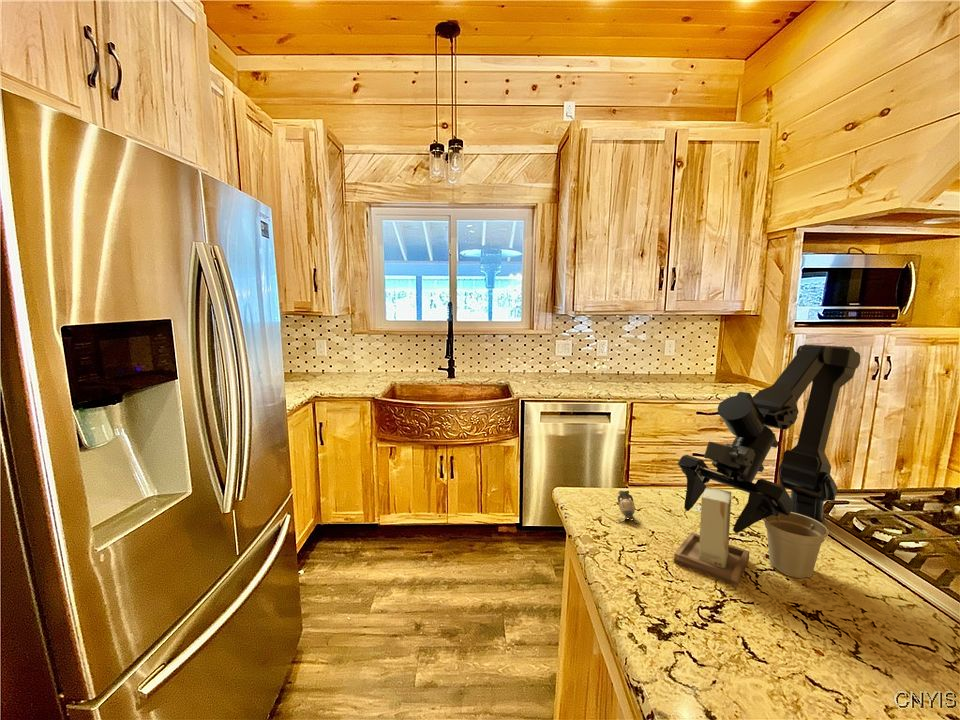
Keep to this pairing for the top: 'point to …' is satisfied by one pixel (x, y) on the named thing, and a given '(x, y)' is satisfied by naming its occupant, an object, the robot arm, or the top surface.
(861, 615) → the top surface
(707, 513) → the skincare box
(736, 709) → the top surface
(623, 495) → the vase
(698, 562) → the walnut tray
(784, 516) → the flower pot
